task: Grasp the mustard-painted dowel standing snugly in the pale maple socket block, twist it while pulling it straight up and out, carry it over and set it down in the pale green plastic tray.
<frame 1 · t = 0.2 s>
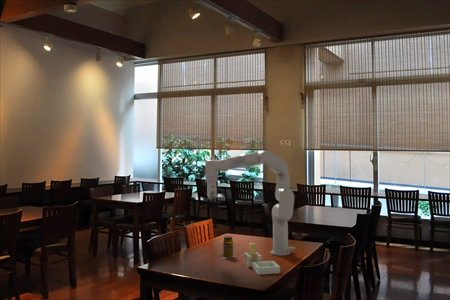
hand: (211, 207, 246), 31 cm above the table, fingers open, 9 cm apart
dowel: (252, 254, 228), in the socket block
socket block: (252, 264, 228), on the table
condiment: (226, 256, 247), on the table
tray: (265, 270, 216), on the table
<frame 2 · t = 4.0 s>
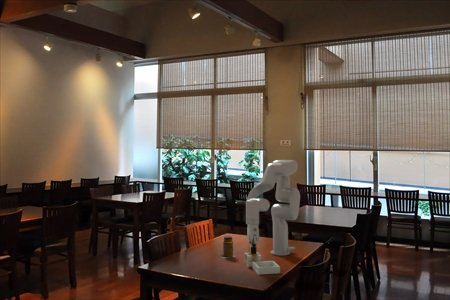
hand: (252, 252, 228), 7 cm above the table, fingers closed on dowel, 3 cm apart
dowel: (252, 254, 228), in the socket block, touching gripper
everything else where it was.
when the fingers open (9 cm above the table, at t = 10.1 s): dowel drops 1 cm, resting on tray.
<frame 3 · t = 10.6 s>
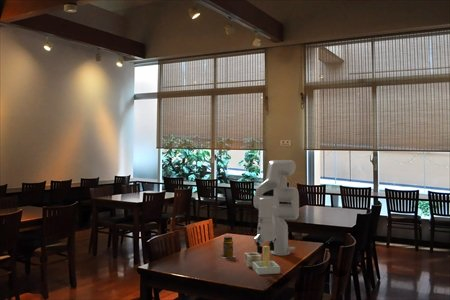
hand: (265, 251, 216), 10 cm above the table, fingers open, 9 cm apart
dowel: (266, 257, 216), in the tray, point 7 cm above the table
everything else where it was.
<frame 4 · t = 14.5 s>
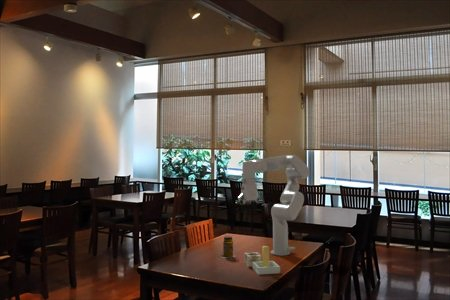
hand: (249, 210, 236), 30 cm above the table, fingers open, 9 cm apart
nothing on the table moved.
at the end: dowel inside the target area on the tray (0.1 cm from its centre), point 7.0 cm above the tray's base; the gripper is holding nothing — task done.
